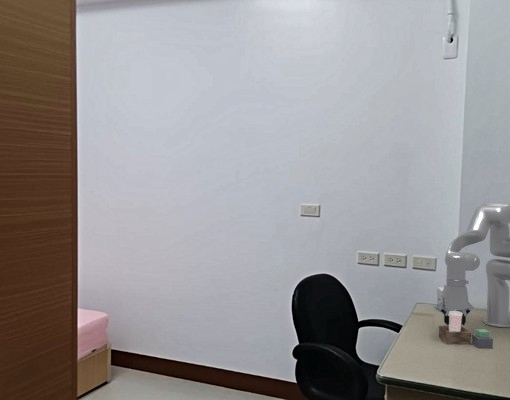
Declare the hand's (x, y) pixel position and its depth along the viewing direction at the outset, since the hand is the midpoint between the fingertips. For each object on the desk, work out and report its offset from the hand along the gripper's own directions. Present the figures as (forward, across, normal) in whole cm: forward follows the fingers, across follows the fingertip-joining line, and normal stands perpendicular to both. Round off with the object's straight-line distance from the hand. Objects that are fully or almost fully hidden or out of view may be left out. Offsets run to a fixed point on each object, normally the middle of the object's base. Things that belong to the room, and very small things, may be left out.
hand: (454, 324), depth 216 cm
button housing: (+7, -9, +7) cm, 13 cm away
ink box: (+7, -16, -53) cm, 55 cm away
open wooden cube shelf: (+7, 0, 0) cm, 7 cm away
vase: (+7, -13, -32) cm, 35 cm away
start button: (+6, -9, +7) cm, 13 cm away
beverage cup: (+4, 0, 0) cm, 4 cm away
